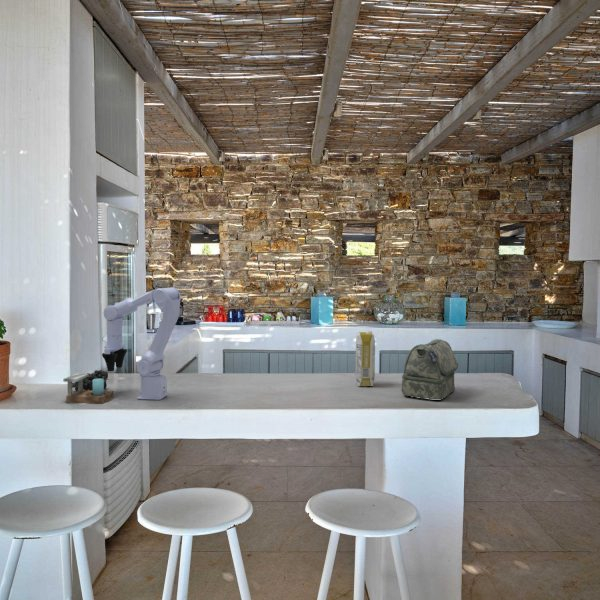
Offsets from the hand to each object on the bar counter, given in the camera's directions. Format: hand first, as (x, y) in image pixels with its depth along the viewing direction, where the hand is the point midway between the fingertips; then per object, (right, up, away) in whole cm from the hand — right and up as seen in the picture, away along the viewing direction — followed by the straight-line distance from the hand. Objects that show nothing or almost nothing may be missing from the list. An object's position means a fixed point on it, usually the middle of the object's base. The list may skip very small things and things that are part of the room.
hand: (115, 369), depth 222 cm
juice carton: (+102, -10, +20) cm, 105 cm away
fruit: (-12, -10, +6) cm, 16 cm away
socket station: (-6, -11, -10) cm, 16 cm away
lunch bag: (+127, -11, +5) cm, 127 cm away
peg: (-3, -11, -10) cm, 15 cm away
